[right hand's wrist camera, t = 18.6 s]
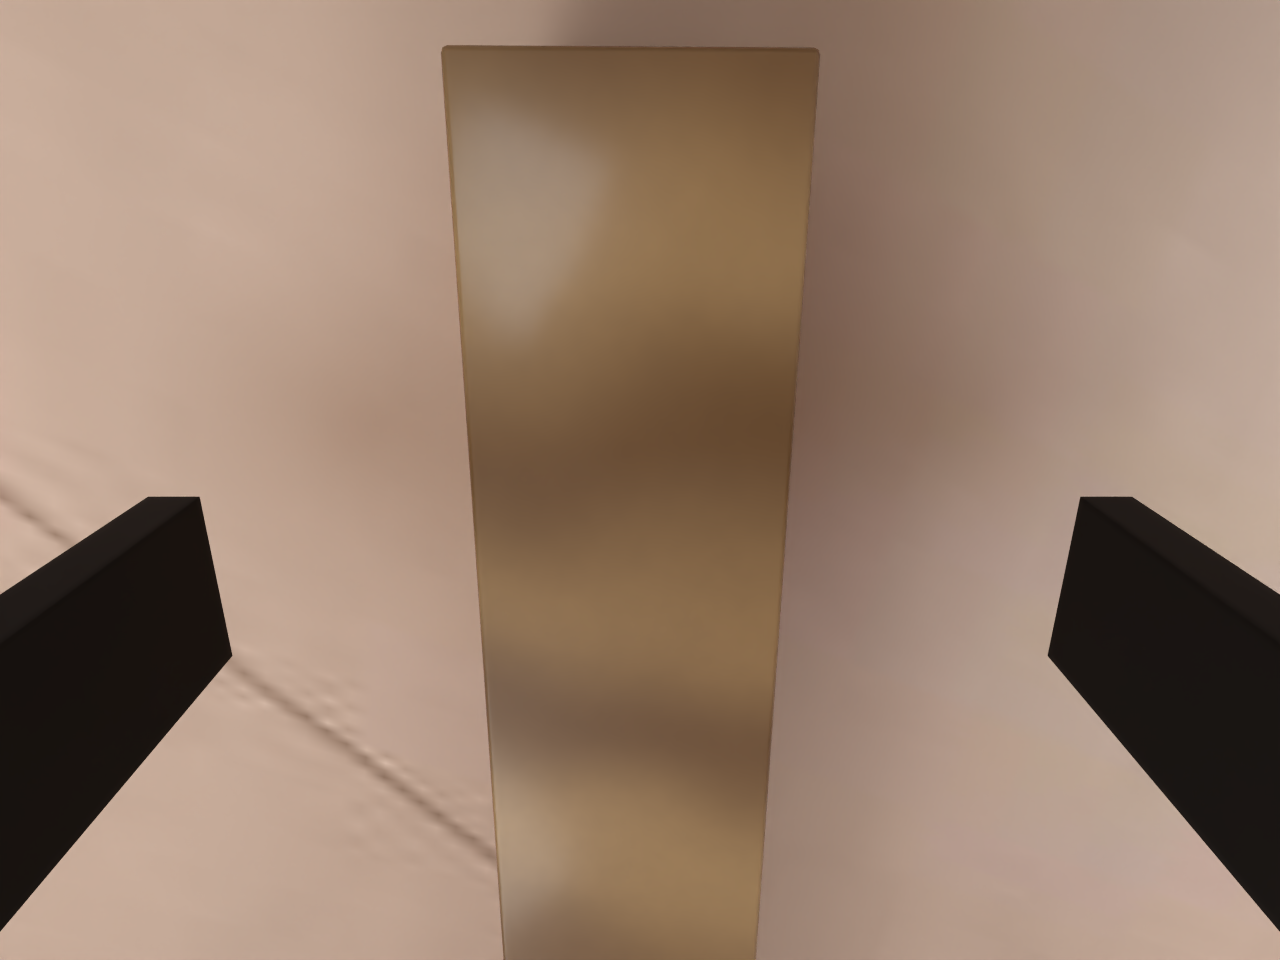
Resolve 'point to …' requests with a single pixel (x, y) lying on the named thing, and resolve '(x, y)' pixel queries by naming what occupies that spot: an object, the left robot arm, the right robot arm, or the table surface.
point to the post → (630, 472)
